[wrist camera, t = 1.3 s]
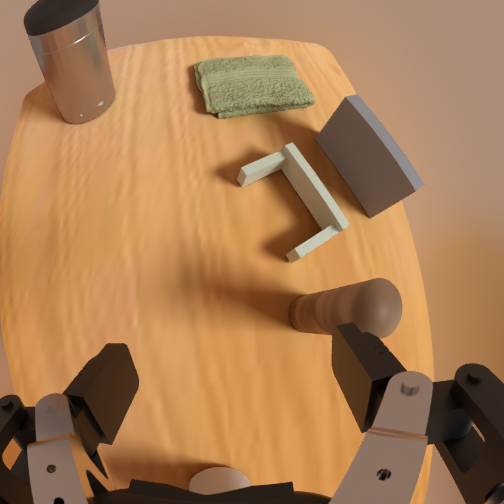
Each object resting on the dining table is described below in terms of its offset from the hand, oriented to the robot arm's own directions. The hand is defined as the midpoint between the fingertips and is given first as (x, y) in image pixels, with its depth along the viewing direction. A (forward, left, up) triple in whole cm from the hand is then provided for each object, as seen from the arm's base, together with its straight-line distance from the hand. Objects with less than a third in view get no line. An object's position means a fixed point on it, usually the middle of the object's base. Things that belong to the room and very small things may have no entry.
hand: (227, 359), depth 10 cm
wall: (-7, +28, -20) cm, 35 cm away
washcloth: (-27, +24, -20) cm, 42 cm away
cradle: (-7, +16, -19) cm, 26 cm away
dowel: (+5, +11, -20) cm, 23 cm away
